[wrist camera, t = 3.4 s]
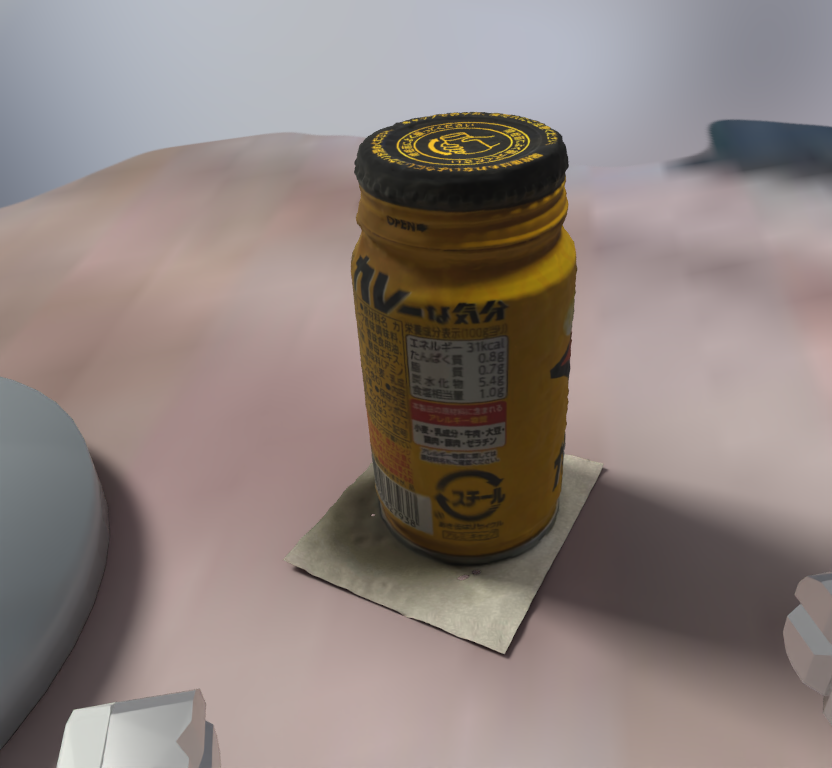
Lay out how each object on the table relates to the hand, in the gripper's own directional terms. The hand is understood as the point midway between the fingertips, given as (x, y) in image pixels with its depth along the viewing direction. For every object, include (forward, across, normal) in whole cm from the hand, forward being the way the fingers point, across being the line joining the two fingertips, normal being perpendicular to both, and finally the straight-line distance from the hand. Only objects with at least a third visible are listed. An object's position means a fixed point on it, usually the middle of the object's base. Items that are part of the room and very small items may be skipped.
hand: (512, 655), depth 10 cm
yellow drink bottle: (+12, +2, -9) cm, 15 cm away
